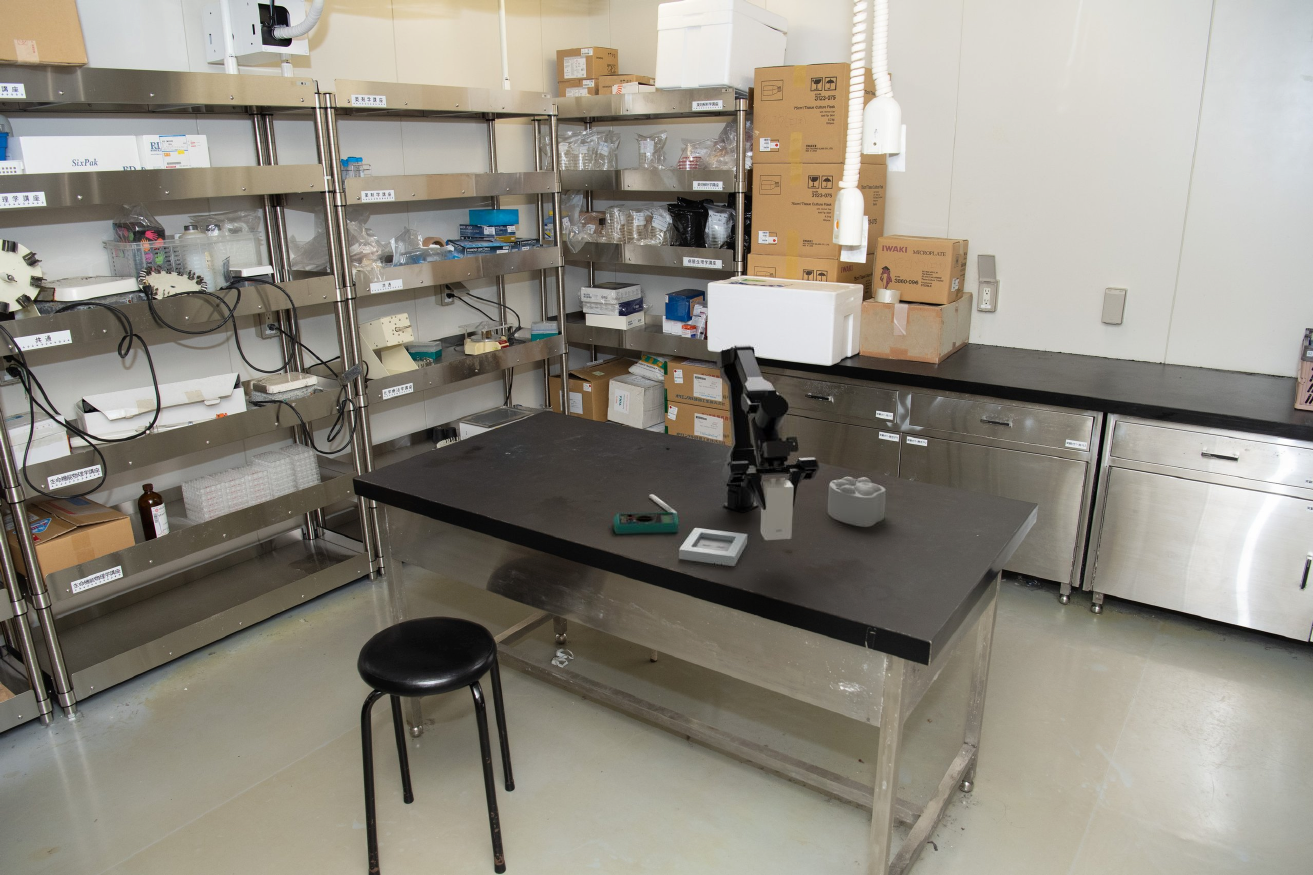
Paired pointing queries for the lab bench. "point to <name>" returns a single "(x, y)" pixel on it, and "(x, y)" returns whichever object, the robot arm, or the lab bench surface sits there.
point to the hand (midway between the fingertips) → (778, 508)
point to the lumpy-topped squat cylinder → (856, 501)
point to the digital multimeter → (646, 523)
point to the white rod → (662, 503)
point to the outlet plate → (713, 546)
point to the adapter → (777, 509)
